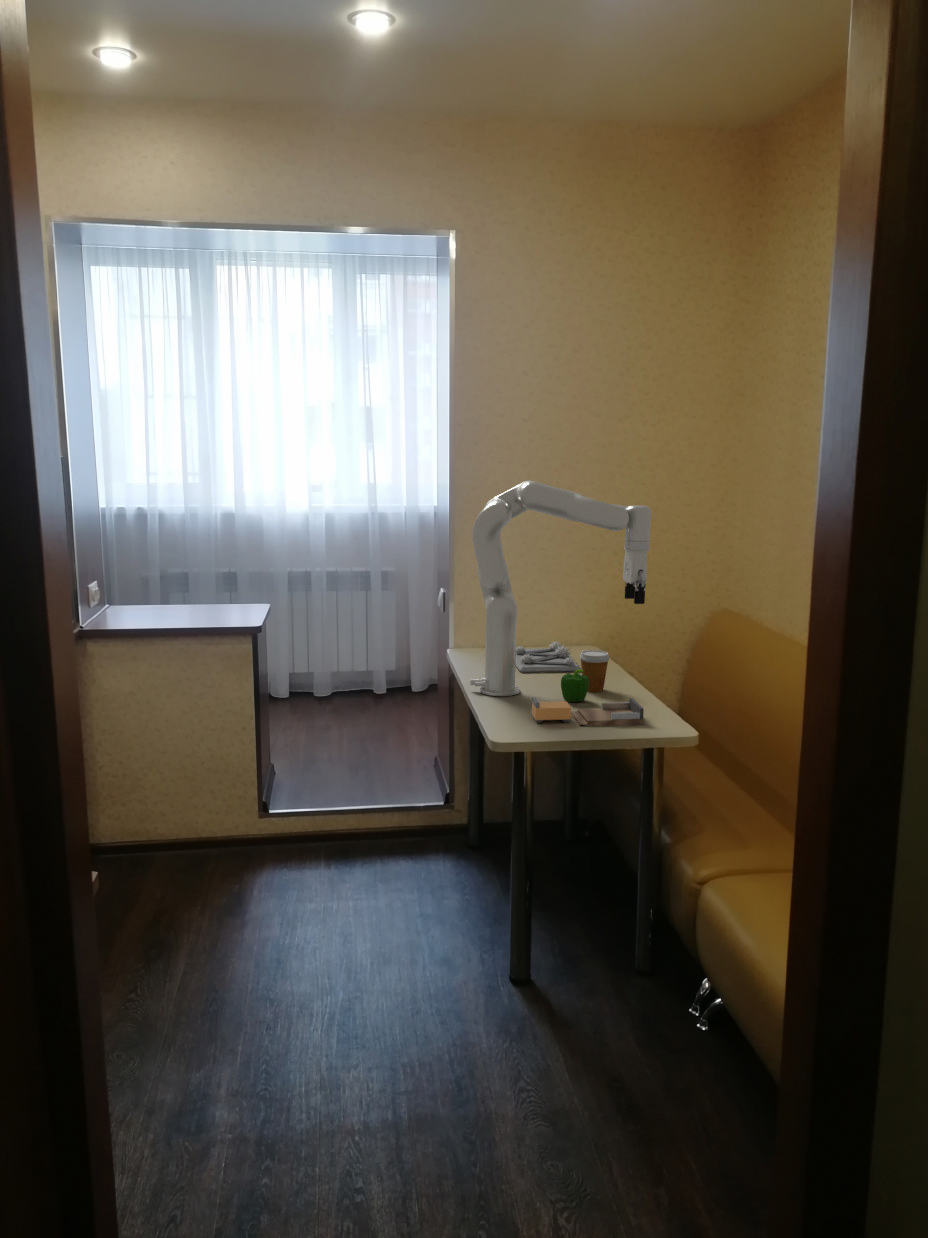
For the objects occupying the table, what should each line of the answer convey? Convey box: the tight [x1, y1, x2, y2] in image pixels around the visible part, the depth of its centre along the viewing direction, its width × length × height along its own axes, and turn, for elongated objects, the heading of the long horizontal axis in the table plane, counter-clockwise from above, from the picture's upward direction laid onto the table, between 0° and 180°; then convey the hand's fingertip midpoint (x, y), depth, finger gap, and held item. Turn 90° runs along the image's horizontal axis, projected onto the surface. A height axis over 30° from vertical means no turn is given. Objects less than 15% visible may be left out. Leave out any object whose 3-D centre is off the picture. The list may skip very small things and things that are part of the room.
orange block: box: [531, 696, 572, 724], centre depth 263 cm, size 10×6×6 cm, turn 96°
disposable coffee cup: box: [579, 649, 610, 693], centre depth 296 cm, size 10×10×12 cm
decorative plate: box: [515, 641, 582, 674], centre depth 333 cm, size 30×22×7 cm
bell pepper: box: [560, 668, 589, 703], centre depth 284 cm, size 8×8×10 cm
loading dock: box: [571, 697, 645, 727], centre depth 265 cm, size 18×12×4 cm, turn 96°
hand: (634, 601), depth 289 cm, fingers open, 9 cm apart
